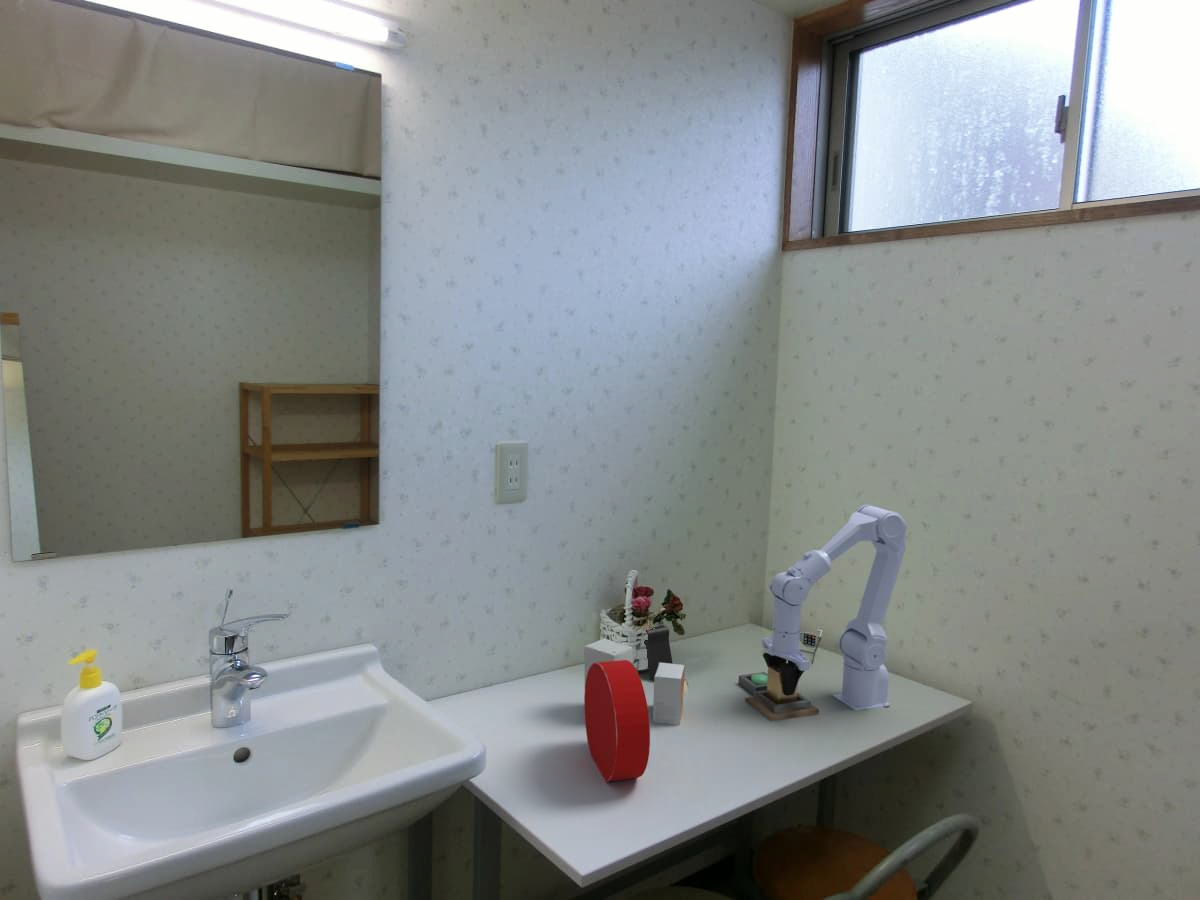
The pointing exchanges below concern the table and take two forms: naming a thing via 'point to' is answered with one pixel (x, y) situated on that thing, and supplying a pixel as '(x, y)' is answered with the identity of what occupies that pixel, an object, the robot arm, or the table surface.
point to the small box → (668, 693)
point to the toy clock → (617, 720)
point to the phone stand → (657, 649)
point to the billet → (778, 687)
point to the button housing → (751, 683)
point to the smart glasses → (810, 640)
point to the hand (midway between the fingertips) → (782, 690)
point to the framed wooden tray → (781, 707)
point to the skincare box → (606, 653)
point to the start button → (759, 679)
